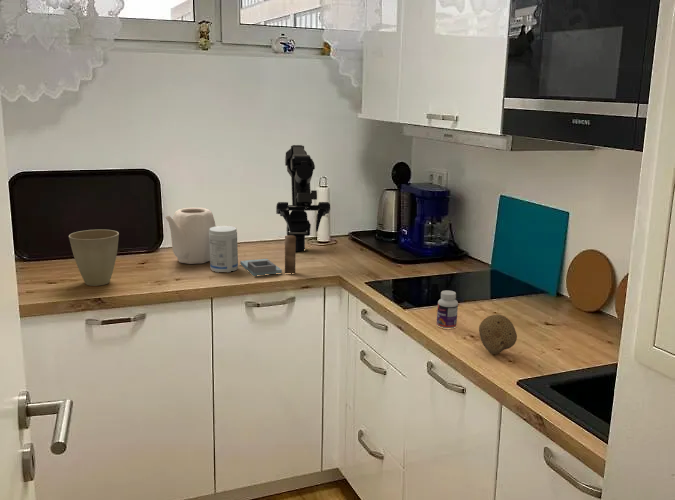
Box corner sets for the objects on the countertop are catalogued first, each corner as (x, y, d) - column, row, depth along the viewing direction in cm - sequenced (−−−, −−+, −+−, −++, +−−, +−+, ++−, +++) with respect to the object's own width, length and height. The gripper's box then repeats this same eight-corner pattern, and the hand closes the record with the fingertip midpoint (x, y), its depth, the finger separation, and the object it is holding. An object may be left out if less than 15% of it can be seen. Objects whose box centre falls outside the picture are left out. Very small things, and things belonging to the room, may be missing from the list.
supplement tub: (229, 264, 243) (228, 224, 240) (243, 270, 236) (242, 229, 233) (204, 268, 237) (203, 227, 234) (218, 275, 230) (217, 232, 227)
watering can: (150, 267, 238) (148, 214, 233) (197, 251, 261) (196, 202, 257) (186, 273, 231) (184, 218, 227) (231, 256, 255) (230, 206, 250)
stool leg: (283, 272, 235) (283, 235, 232) (293, 271, 237) (293, 234, 233) (286, 275, 232) (287, 237, 229) (296, 274, 233) (297, 237, 230)
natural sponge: (506, 346, 173) (510, 309, 171) (521, 360, 165) (524, 321, 162) (472, 347, 172) (475, 310, 169) (485, 361, 163) (488, 322, 161)
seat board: (240, 265, 243) (240, 255, 242) (267, 262, 247) (267, 253, 246) (254, 277, 228) (254, 267, 228) (282, 274, 232) (282, 264, 232)
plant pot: (121, 275, 228) (118, 228, 224) (121, 287, 214) (119, 238, 210) (73, 277, 223) (69, 230, 219) (70, 291, 209) (67, 240, 205)
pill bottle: (432, 324, 188) (434, 290, 185) (449, 322, 190) (451, 288, 187) (443, 331, 183) (445, 296, 181) (460, 328, 185) (462, 294, 183)
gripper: (277, 181, 233) (278, 225, 230) (331, 181, 236) (333, 225, 232) (275, 191, 244) (276, 234, 240) (327, 191, 247) (329, 233, 243)
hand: (303, 231), depth 239 cm, fingers open, 9 cm apart
